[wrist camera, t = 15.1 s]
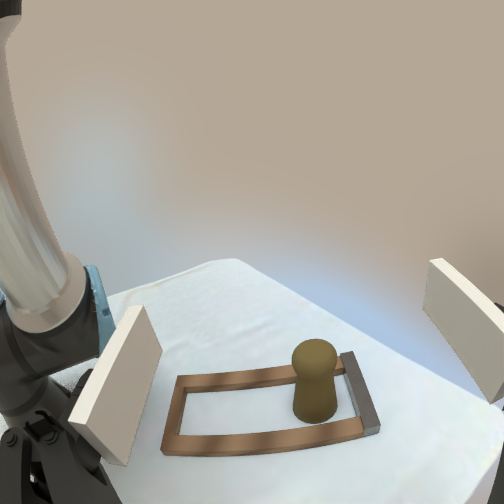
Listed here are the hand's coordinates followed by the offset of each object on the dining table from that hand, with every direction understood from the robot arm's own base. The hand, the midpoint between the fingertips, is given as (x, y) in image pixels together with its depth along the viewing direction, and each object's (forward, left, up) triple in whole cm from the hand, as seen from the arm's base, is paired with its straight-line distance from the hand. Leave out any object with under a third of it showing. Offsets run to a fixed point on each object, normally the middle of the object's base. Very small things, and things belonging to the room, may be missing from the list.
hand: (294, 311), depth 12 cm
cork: (+2, +13, -26) cm, 29 cm away
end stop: (+8, +14, -26) cm, 31 cm away
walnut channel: (-5, +14, -26) cm, 30 cm away
